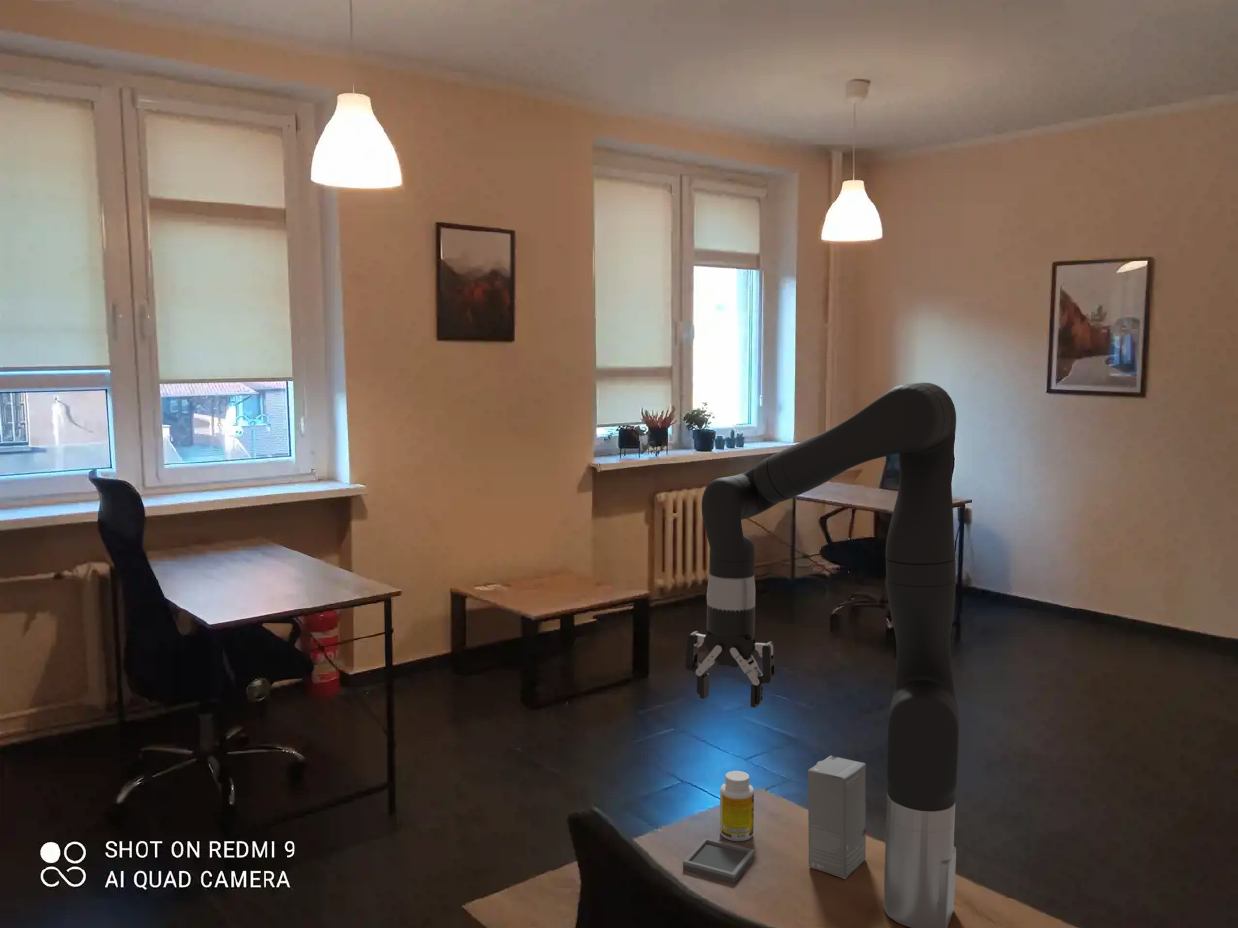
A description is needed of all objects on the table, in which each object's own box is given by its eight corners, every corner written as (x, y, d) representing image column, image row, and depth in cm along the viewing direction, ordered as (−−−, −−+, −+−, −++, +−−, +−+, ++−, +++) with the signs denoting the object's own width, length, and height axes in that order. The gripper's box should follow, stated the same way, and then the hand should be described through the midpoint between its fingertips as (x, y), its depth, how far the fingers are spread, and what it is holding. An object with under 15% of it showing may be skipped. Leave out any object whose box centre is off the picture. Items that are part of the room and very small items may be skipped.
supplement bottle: (757, 841, 159) (758, 781, 158) (723, 843, 158) (724, 783, 157) (748, 825, 164) (749, 767, 163) (716, 827, 164) (717, 769, 163)
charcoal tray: (754, 857, 154) (754, 849, 154) (734, 883, 146) (734, 874, 146) (704, 844, 158) (704, 837, 158) (683, 869, 150) (683, 861, 150)
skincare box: (845, 881, 147) (848, 781, 145) (802, 866, 151) (805, 768, 149) (868, 858, 154) (871, 762, 152) (826, 844, 158) (828, 751, 156)
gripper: (782, 602, 153) (779, 701, 155) (698, 591, 159) (696, 687, 161) (767, 613, 146) (764, 717, 148) (679, 601, 152) (678, 701, 154)
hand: (729, 701), depth 154 cm, fingers open, 8 cm apart
